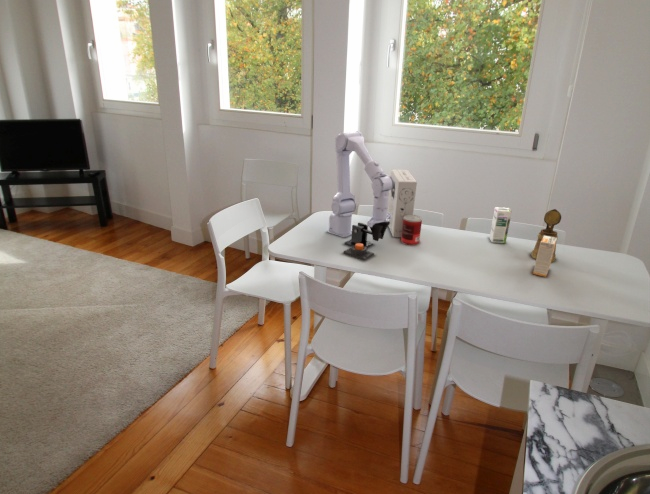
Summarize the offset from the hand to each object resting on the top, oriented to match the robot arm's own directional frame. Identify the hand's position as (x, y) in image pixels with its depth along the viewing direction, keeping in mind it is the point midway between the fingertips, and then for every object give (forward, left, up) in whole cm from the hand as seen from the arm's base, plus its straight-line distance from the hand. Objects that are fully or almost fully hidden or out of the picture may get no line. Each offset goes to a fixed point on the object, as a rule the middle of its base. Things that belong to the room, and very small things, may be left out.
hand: (377, 239), depth 188 cm
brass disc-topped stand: (+52, +43, -5) cm, 68 cm away
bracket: (-9, 0, -5) cm, 10 cm away
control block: (-3, -8, -5) cm, 10 cm away
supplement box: (+56, +26, -5) cm, 62 cm away
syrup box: (+32, +46, -5) cm, 56 cm away
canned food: (+5, +18, -5) cm, 19 cm away
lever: (-5, 0, +1) cm, 5 cm away
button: (-3, -8, -2) cm, 9 cm away
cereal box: (-7, +28, -5) cm, 29 cm away
